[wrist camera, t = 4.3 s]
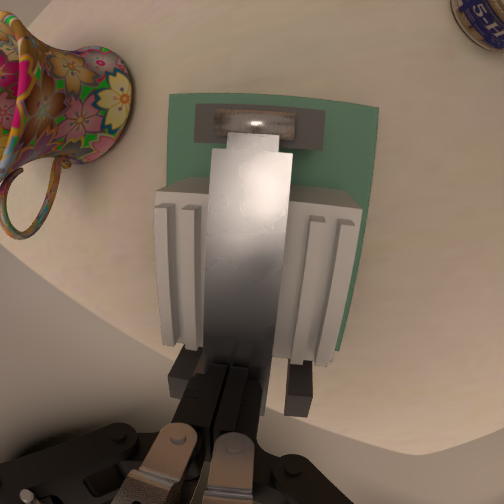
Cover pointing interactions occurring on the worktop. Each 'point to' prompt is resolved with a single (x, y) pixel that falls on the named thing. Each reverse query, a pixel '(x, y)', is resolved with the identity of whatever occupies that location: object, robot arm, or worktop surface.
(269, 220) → the strap
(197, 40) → the worktop surface
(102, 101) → the mug
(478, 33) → the pill bottle
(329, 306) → the heatsink base
